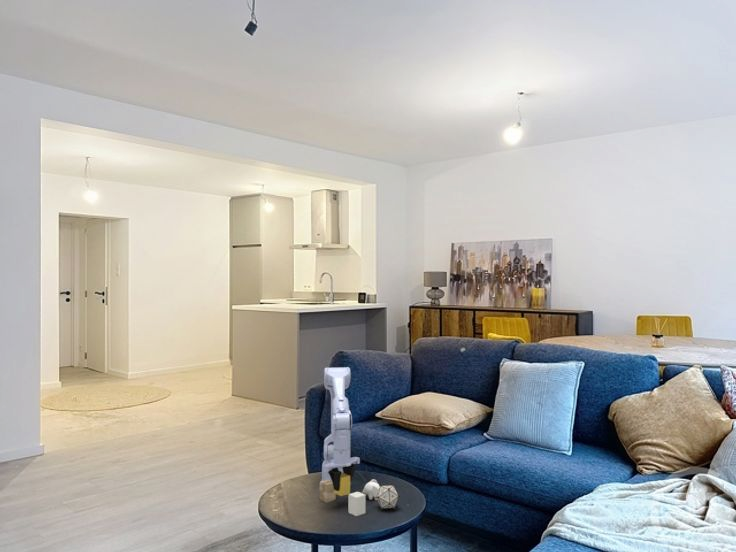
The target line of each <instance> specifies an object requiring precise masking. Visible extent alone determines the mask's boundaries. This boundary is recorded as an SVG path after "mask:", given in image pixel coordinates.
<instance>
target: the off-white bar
mask: <svg viewBox="0 0 736 552" xmlns="http://www.w3.org/2000/svg"><path fill="white" fill-rule="evenodd" d="M365 494H366V493H365ZM365 494H363V493H362V492H360V491H355V492H352V493H351V492H350V494H347V497H348V499H347V500H348V501H347V502H348V511H347V512H348V514H351V515H353V516H355V517H358V516H361V515H365V514H366V496H365Z"/></svg>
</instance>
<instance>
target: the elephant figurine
mask: <svg viewBox="0 0 736 552" xmlns="http://www.w3.org/2000/svg"><path fill="white" fill-rule="evenodd" d="M379 484H380V483H378V481H377V480H376V479H374V478H373V479H371V480H370V481H368V482H367V483H366V484H365V485H364V488H363V489H362V492H361V493H362V494H365V497H366V496H368V499H369V501H370V500H373V499H374V501H377V499H376V498H374V497H376V496H377V493H378V490H379V488H380V486H379Z"/></svg>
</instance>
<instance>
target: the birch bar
mask: <svg viewBox="0 0 736 552" xmlns="http://www.w3.org/2000/svg"><path fill="white" fill-rule="evenodd" d="M321 481H322V480H321ZM336 495H337V494H335V493H334V487H333V483H332V481H331V480H325V481H322V482H320V481H319V500H321V501H322V502H325V503H330V502H332V501H335V500H336V497H337V496H336Z"/></svg>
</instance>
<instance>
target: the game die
mask: <svg viewBox="0 0 736 552" xmlns="http://www.w3.org/2000/svg"><path fill="white" fill-rule="evenodd" d="M378 484H379V486H380V488H379V490H378V493H377V496H376V497H374V498H376V499H377V500H376V501H377V503H378V505H379V507H380V509H379V510H380V511H383V510H382V509H394V510H395V511H396V510H397V509H396V506H397V502H398V500H399V498H400V497H402V495H401V494H398V492H397V490H396V488H395V486H394V485H395V482H393V483H392V485H390V484H389V485H381V483H378ZM374 498H373V499H374Z"/></svg>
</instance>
